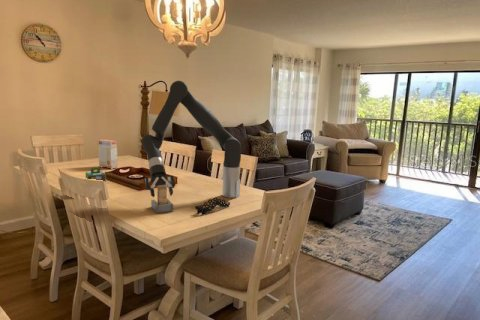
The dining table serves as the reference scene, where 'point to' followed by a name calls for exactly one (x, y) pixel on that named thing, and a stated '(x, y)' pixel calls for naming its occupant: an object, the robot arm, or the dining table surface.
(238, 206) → the dining table surface
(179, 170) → the dining table surface
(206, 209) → the decorative element
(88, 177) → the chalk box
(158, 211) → the end cap
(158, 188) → the tan wooden block
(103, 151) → the cracker box
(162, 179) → the robot arm
